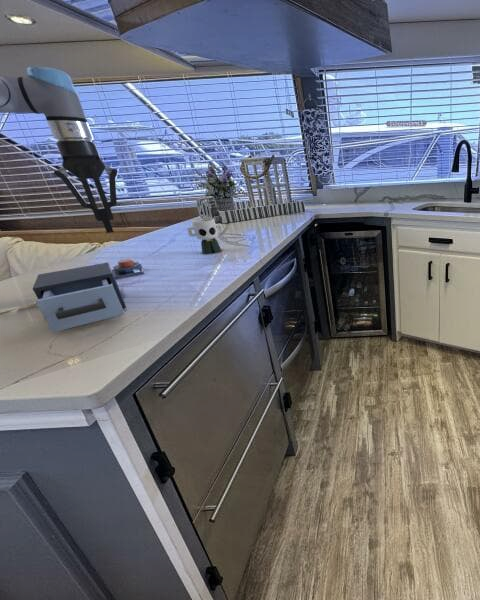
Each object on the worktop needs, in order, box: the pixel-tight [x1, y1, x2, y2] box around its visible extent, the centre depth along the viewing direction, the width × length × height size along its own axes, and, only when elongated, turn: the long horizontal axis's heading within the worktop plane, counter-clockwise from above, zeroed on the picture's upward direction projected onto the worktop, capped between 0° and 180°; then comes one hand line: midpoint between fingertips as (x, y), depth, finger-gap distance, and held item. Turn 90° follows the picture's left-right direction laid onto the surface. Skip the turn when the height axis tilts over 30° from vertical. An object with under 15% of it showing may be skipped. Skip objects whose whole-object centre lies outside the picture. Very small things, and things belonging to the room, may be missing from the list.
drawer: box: [35, 278, 125, 333], centre depth 68 cm, size 17×11×7 cm, turn 43°
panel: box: [111, 261, 145, 281], centre depth 96 cm, size 12×10×4 cm
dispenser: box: [32, 262, 127, 309], centre depth 75 cm, size 14×13×9 cm
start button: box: [117, 258, 135, 267], centre depth 96 cm, size 4×4×2 cm
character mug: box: [187, 218, 224, 255], centre depth 116 cm, size 11×7×13 cm, turn 128°
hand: (110, 231), depth 92 cm, fingers closed
